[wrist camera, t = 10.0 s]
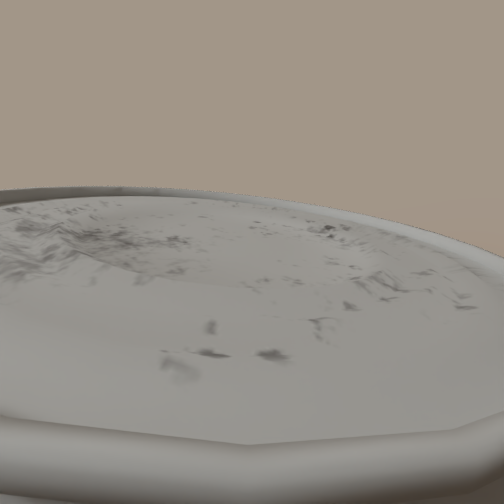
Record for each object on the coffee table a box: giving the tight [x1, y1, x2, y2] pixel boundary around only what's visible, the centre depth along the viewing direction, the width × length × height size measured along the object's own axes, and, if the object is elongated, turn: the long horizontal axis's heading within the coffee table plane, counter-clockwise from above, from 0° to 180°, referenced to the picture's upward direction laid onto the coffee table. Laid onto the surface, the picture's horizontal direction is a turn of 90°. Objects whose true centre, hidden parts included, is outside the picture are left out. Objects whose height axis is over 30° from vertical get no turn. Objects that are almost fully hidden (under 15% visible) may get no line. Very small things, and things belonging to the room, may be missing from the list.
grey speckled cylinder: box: [0, 186, 504, 504], centre depth 8 cm, size 10×10×12 cm
